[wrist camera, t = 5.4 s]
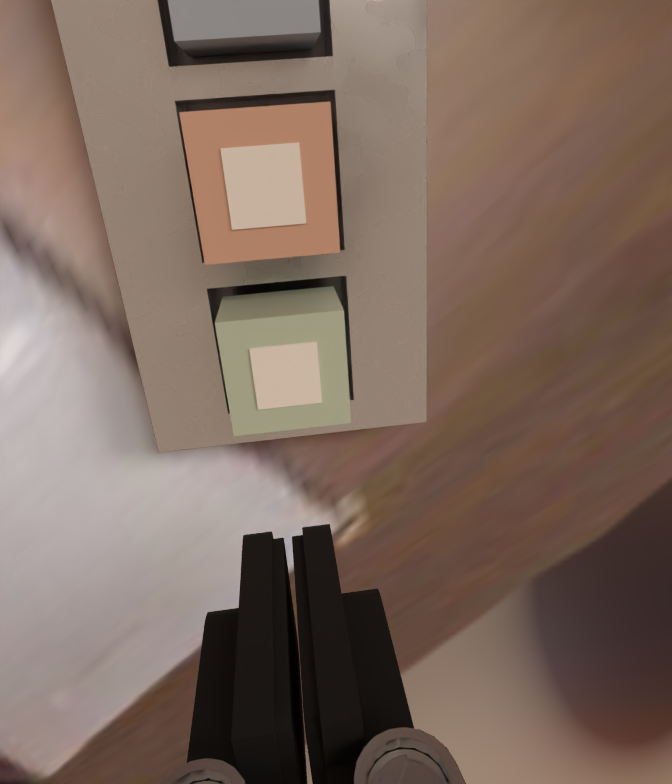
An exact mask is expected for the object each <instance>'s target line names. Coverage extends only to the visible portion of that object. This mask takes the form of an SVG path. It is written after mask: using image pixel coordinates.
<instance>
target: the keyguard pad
mask: <svg viewBox="0 0 672 784" xmlns="http://www.w3.org/2000/svg"><path fill="white" fill-rule="evenodd" d="M51 2H52V6H53V10H54V15H55V19H56V23H57V27H58V31H59V36H60V40H61V44H62V48H63V52H64V56H65V61H66V65H67V69H68V73H69V77H70V82H71V86H72V90H73V94H74V98H75V103H76V107H77V111H78V115H79V119H80V124H81V128H82V132H83V136H84V140H85V145H86V149H87V153H88V157H89V161H90V166H91V170H92V174H93V178H94V182H95V187H96V191H97V195H98V199H99V203H100V208H101V212H102V216H103V220H104V224H105V229H106V233H107V237H108V241H109V245H110V250H111V254H112V258H113V262H114V266H115V271H116V275H117V279H118V283H119V287H120V292H121V296H122V300H123V304H124V308H125V313H126V317H127V321H128V325H129V329H130V333H131V338H132V342H133V346H134V350H135V354H136V359H137V363H138V367H139V371H140V375H141V380H142V384H143V388H144V392H145V396H146V401H147V405H148V409H149V413H150V417H151V422H152V426H153V430H154V434H155V438H156V443H157V447H158V451H159V452H166V451H175V450H183V449H192V448H201V447H210V446H219V445H227V444H236V443H245V442H254V441H262V440H271V439H280V438H289V437H298V436H306V435H315V434H324V433H333V432H341V431H350V430H359V429H368V428H376V427H385V426H394V425H403V424H412V423H420V422H426V387H427V0H319V13H320V28H321V33H320V35H319V37H318V39H317V41H316V43H315V45H314V47H313V49H303V50H287V51H272V52H256V53H241V54H225V55H210V56H194V57H189V56H188V55H187V54H186V53H185V52H184V51H183V50H182V49H181V48H180V47H179V46H178V45H177V44H176V42H175V41H174V36H173V30H172V24H171V18H170V12H169V6H168V0H51ZM316 102H331V118H332V133H333V149H334V164H335V180H336V195H337V211H338V226H339V242H340V253H330V254H319V255H308V256H297V257H286V258H275V259H264V260H253V261H242V262H231V263H220V264H209V265H205V262H204V256H203V250H202V244H201V238H200V233H199V227H198V221H197V215H196V209H195V203H194V197H193V191H192V185H191V179H190V173H189V167H188V161H187V155H186V150H185V144H184V138H183V132H182V126H181V120H180V114H179V112H190V111H204V110H218V109H232V108H246V107H260V106H274V105H288V104H302V103H316ZM330 286H334V289H335V291H336V293H337V295H338V298H339V300H340V302H341V305H342V307H343V309H344V319H345V335H346V350H347V366H348V381H349V397H350V412H351V423H347V424H338V425H329V426H320V427H311V428H303V429H294V430H285V431H276V432H267V433H258V434H250V435H241V436H234V434H233V428H232V422H231V416H230V410H229V404H228V398H227V393H226V387H225V381H224V375H223V369H222V363H221V357H220V351H219V345H218V339H217V333H216V327H215V320H216V317H217V314H218V310H219V307H220V304H221V300H222V297H225V296H235V295H246V294H256V293H267V292H277V291H288V290H298V289H309V288H319V287H330Z"/></svg>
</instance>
